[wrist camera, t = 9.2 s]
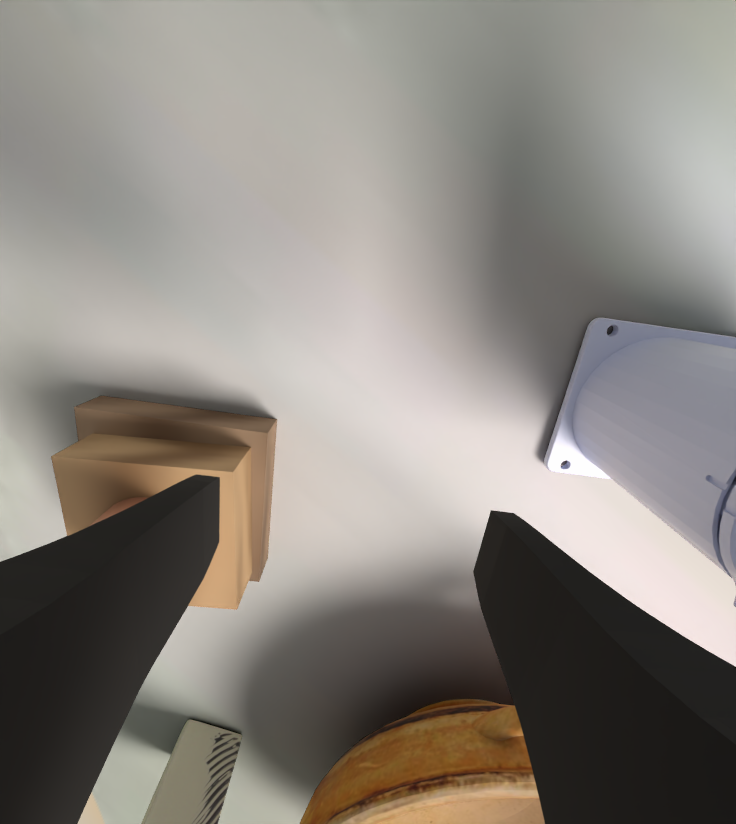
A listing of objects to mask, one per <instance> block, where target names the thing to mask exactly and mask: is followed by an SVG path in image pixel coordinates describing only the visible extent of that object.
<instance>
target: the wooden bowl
mask: <svg viewBox="0 0 736 824" xmlns="http://www.w3.org/2000/svg"><path fill="white" fill-rule="evenodd" d="M300 824H545V821H544V817H543V813H542V808H541V804H540V800H539V795H538V791H537V787H536V783H535V778H534V775H533V771H532V767H531V763H530V759H529V755H528V751H527V747H526V743H525V739H524V736H523V732H522V728H521V724H520V721H519V718H518V715H517V711H516V708H515V705H504V704H498V703H495V702H490V701H486V700H478V699H454V700H447V701H442V702H438V703H434V704H431V705H428V706H426V707H423V708H421V709H419V710H417V711H415V712H413V713H412V714H410V715H408V716H407V717H404V718H402V719H399V720H397V721H394V722H392V723H389V724H387V725H385V726H384V727H382V728H380V729H378V730H377V731H375V732H373V733H371V734H370V735H368V736H366V737H365V738H363V739H362V740H360V741H359V742H358V743H357V744H356V745H354V746H353V747H352V748H351V749H350V750H348V751H347V752H346V753H345V754H344V755H343V756H342V757H341V758H340V759H339V760H338V761H337V762H336V763H335V765H334V766H333V767H332V768H331V770H330V771H329V772H328V773H327V775H326V776H325V777H324V778H323V780H322V781H321V782H320V784H319V785H318V787H317V788H316V790H315V792H314V794H313V796H312V798H311V800H310V802H309V804H308V807H307V809H306V811H305V813H304V815H303V817H302V819H301V822H300Z"/></svg>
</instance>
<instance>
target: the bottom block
mask: <svg viewBox="0 0 736 824" xmlns="http://www.w3.org/2000/svg"><path fill="white" fill-rule="evenodd" d="M74 410H75V418H76V426H77V434H78V441H80V440H82V439H84V438H86V437H87V436H89V435H91V434H93V433H95V434H106V435H118V436H129V437H140V438H152V439H163V440H174V441H186V442H197V443H209V444H220V445H231V446H243V447H251V497H252V574H251V576H250V578H249V581H257V582H259V580H260V578H261V575H262V572H263V569H264V567H265V564H266V561H267V559H268V546H269V531H270V516H271V501H272V486H273V471H274V456H275V442H276V427H277V419H271V418H263V417H256V416H248V415H241V414H234V413H226V412H219V411H211V410H204V409H197V408H189V407H182V406H174V405H167V404H159V403H152V402H145V401H137V400H130V399H122V398H115V397H108V396H99V397H97V398H94V399H92V400H90V401H87V402H85V403H83V404H80V405H78V406H76V407H74Z"/></svg>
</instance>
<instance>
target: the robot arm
mask: <svg viewBox="0 0 736 824" xmlns="http://www.w3.org/2000/svg"><path fill="white" fill-rule="evenodd" d="M611 325H612V326H613V331H612V333H611V334H609V335H608V334H607V329H608V328H609V327H610V326H611ZM563 461H567V463H566V464H565V465H564V466H561V463H562V462H563ZM544 465H545V467H546V468H547V469H548V470H550V471H552V472H558V473H566V474H574V475H581V476H589V477H597V478H605V479H612V480H614V481H615V482H616V483H617V484H619V485H620V486H621V487H622V488H623V489H625V490H626V491H627V492H628V493H629V494H631V495H632V496H633V497H634V498H636V499H637V500H638V501H639V502H640V503H642V504H643V505H644V506H645V507H646V508H648V509H649V510H650V511H651V512H653V513H654V514H655V515H656V516H657V517H659V518H660V519H661V520H662V521H663V522H665V523H666V524H667V525H668V526H670V527H671V528H672V529H673V530H674V531H676V532H677V533H678V534H679V535H680V536H682V537H683V538H684V539H685V540H687V541H688V542H689V543H690V544H691V545H693V546H694V547H695V548H696V549H697V550H699V551H700V552H701V553H702V554H704V555H705V556H706V557H707V558H708V559H710V560H711V561H712V562H713V563H714V564H716V565H717V566H718V567H719V568H721V569H722V570H723V571H724V572H725V573H727V574H728V575H729V576H730V577H732V578H733V580H734V582H735V584H736V337H732V336H725V335H718V334H711V333H704V332H697V331H691V330H684V329H677V328H670V327H663V326H656V325H650V324H643V323H636V322H629V321H622V320H615V319H609V318H602V317H601V318H596V319H593V320H592V321H591V322H590V323H589V325H588V327H587V330H586V333H585V336H584V339H583V342H582V345H581V349H580V352H579V355H578V358H577V361H576V364H575V367H574V370H573V373H572V376H571V379H570V382H569V385H568V388H567V391H566V394H565V398H564V401H563V404H562V407H561V410H560V413H559V416H558V419H557V422H556V425H555V428H554V431H553V434H552V437H551V440H550V443H549V446H548V450H547V453H546V456H545V459H544ZM219 523H220V477H214V476H206V475H198V474H196V475H193V476H191V477H189V478H187V479H185V480H182V481H180V482H178V483H176V484H174V485H172V486H171V487H169V488H167V489H165V490H163V491H161V492H159V493H157V494H155V495H153V496H151V497H149V498H147V499H145V500H143V501H141V502H139V503H137V504H135V505H133V506H131V507H129V508H127V509H125V510H123V511H121V512H119V513H117V514H115V515H112V516H110V517H108V518H106V519H104V520H102V521H100V522H97V523H95V524H93V525H91V526H89V527H87V528H84V529H82V530H80V531H78V532H76V533H73V534H71V535H69V536H66V537H64V538H61V539H59V540H57V541H54V542H52V543H49V544H47V545H44V546H42V547H39V548H36V549H34V550H31V551H28V552H26V553H23V554H21V555H18V556H15V557H13V558H10V559H7V560H4V561H1V562H0V824H77V823H78V821H79V819H80V816H81V814H82V812H83V809H84V807H85V805H86V803H87V800H88V798H89V796H90V794H91V792H92V790H93V787H94V785H95V783H96V781H97V779H98V777H99V774H100V772H101V770H102V768H103V766H104V764H105V761H106V759H107V757H108V755H109V753H110V750H111V748H112V746H113V744H114V742H115V740H116V738H117V735H118V733H119V731H120V729H121V727H122V725H123V723H124V721H125V719H126V717H127V715H128V713H129V710H130V708H131V706H132V704H133V702H134V700H135V698H136V696H137V694H138V692H139V690H140V688H141V686H142V684H143V682H144V680H145V679H146V677H147V675H148V673H149V671H150V669H151V667H152V666H153V664H154V662H155V661H156V659H157V657H158V656H159V654H160V652H161V650H162V649H163V647H164V645H165V644H166V642H167V640H168V639H169V637H170V635H171V634H172V632H173V630H174V628H175V627H176V625H177V623H178V622H179V620H180V618H181V617H182V615H183V613H184V612H185V610H186V608H187V606H188V605H189V603H190V601H191V600H192V598H193V596H194V594H195V593H196V591H197V589H198V588H199V586H200V584H201V582H202V581H203V579H204V577H205V575H206V572H207V570H208V568H209V566H210V563H211V561H212V559H213V556H214V554H215V551H216V549H217V547H218V544H219ZM473 572H474V577H475V582H476V587H477V592H478V597H479V601H480V606H481V610H482V613H483V616H484V619H485V622H486V625H487V628H488V631H489V633H490V636H491V639H492V642H493V645H494V648H495V651H496V654H497V656H498V659H499V662H500V665H501V668H502V671H503V673H504V676H505V679H506V682H507V685H508V688H509V690H510V693H511V696H512V699H513V702H514V705H515V708H516V711H517V715H518V718H519V721H520V724H521V728H522V732H523V736H524V739H525V743H526V747H527V751H528V755H529V759H530V763H531V767H532V771H533V775H534V778H535V783H536V787H537V791H538V795H539V800H540V804H541V808H542V813H543V817H544V821H545V824H736V667H735V666H733V665H731V664H730V663H728V662H726V661H724V660H723V659H721V658H719V657H717V656H716V655H714V654H712V653H710V652H709V651H707V650H705V649H704V648H702V647H700V646H699V645H697V644H695V643H694V642H692V641H690V640H689V639H687V638H685V637H684V636H682V635H680V634H679V633H677V632H676V631H674V630H673V629H671V628H670V627H668V626H666V625H665V624H663V623H662V622H660V621H659V620H657V619H656V618H654V617H652V616H651V615H649V614H648V613H646V612H645V611H643V610H642V609H640V608H639V607H637V606H636V605H634V604H633V603H632V602H630V601H629V600H627V599H626V598H624V597H623V596H622V595H620V594H619V593H618V592H616V591H615V590H613V589H612V588H611V587H609V586H608V585H606V584H605V583H604V582H602V581H601V580H600V579H598V578H597V577H596V576H594V575H593V574H592V573H590V572H589V571H588V570H586V569H585V568H584V567H583V566H581V565H580V564H579V563H577V562H576V561H575V560H574V559H572V558H571V557H570V556H568V555H567V554H566V553H565V552H563V551H562V550H561V549H560V548H558V547H557V546H556V545H555V544H553V543H552V542H551V541H550V540H548V539H547V538H546V537H545V536H543V535H542V534H541V533H540V532H538V531H537V530H536V529H535V528H533V527H532V526H531V525H529V524H528V523H527V522H525V521H524V520H523V519H521V518H520V517H518V516H517V515H515V514H514V513H508V512H500V511H491V512H490V516H489V519H488V523H487V526H486V530H485V533H484V537H483V540H482V544H481V547H480V551H479V554H478V557H477V561H476V564H475V568H474V571H473ZM734 606H735V607H736V597H735V600H734Z"/></svg>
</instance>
